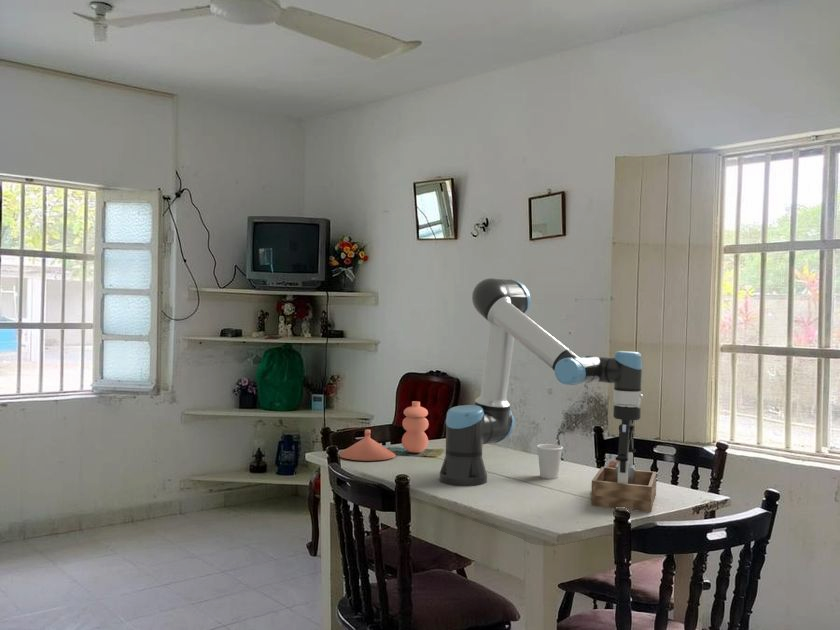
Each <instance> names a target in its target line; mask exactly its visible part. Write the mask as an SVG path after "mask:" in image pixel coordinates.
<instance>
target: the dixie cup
mask: <svg viewBox="0 0 840 630" xmlns="http://www.w3.org/2000/svg"><path fill="white" fill-rule="evenodd" d="M536 447H537V455H538V456H537V457H538V465H539V466H538V468H539V477H540V478H542V479H549V480H551V479H553V480H554V479H558V478H559V472H560V465H561V459H562V458H561V457H562V451H563V449H564V447H563V446H562V445H560V444H559V445H558V444H554V443H541V444H537V445H536Z"/></svg>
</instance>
